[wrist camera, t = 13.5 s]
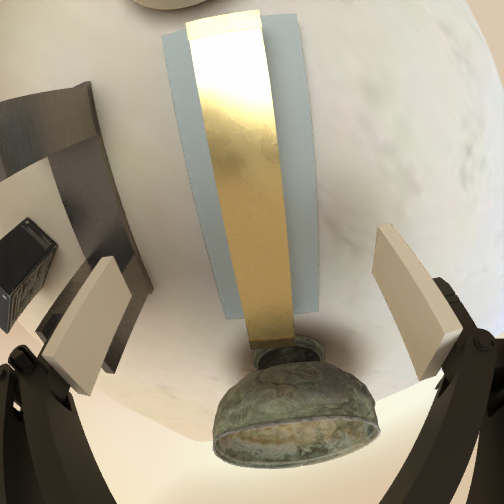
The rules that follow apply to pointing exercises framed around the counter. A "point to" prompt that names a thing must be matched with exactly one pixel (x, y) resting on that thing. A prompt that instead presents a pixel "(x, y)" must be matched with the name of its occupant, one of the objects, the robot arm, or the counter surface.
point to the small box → (22, 269)
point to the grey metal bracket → (76, 193)
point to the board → (290, 154)
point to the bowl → (293, 411)
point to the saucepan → (168, 3)
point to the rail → (246, 168)
